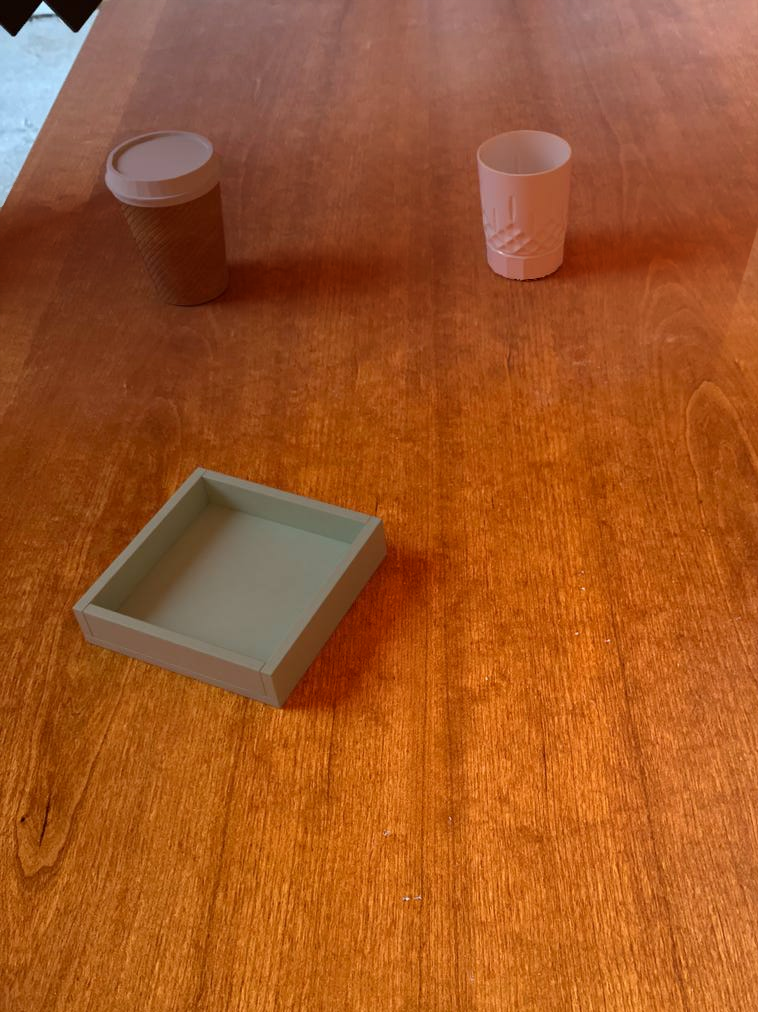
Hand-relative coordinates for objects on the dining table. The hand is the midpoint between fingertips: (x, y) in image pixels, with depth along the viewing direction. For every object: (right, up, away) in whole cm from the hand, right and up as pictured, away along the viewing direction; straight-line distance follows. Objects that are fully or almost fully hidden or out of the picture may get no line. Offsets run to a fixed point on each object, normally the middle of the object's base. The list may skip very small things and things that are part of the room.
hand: (27, 20), depth 86 cm
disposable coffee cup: (+8, -14, +18) cm, 24 cm away
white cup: (+37, -12, +19) cm, 43 cm away
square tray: (+17, -42, -7) cm, 46 cm away
